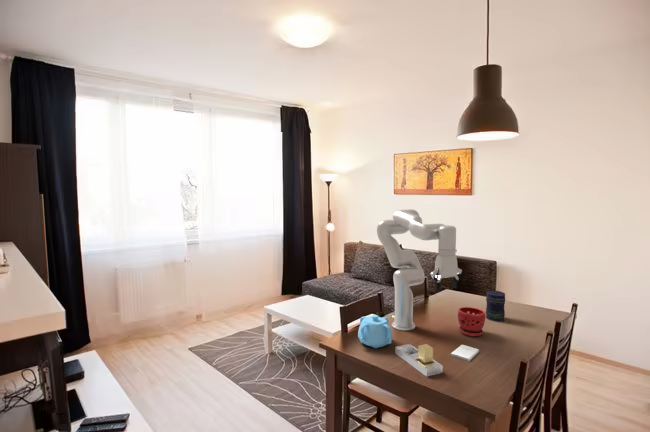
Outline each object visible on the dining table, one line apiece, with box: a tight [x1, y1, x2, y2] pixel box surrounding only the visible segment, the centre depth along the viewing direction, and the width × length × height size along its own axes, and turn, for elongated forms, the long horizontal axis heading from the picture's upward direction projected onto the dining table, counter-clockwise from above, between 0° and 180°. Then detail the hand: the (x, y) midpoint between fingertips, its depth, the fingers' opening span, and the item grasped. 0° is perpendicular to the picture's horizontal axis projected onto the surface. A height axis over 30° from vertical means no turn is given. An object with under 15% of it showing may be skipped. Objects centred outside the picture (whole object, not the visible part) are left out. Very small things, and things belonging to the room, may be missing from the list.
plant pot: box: [457, 306, 486, 337], centre depth 184 cm, size 13×13×12 cm
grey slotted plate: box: [394, 343, 444, 377], centre depth 154 cm, size 22×8×3 cm, turn 23°
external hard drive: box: [450, 344, 480, 362], centre depth 162 cm, size 2×8×12 cm
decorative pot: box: [357, 314, 393, 349], centre depth 173 cm, size 16×16×14 cm
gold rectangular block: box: [417, 343, 434, 365], centre depth 149 cm, size 4×4×9 cm
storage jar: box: [485, 290, 506, 323], centre depth 204 cm, size 10×10×15 cm
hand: (446, 289), depth 165 cm, fingers open, 9 cm apart
